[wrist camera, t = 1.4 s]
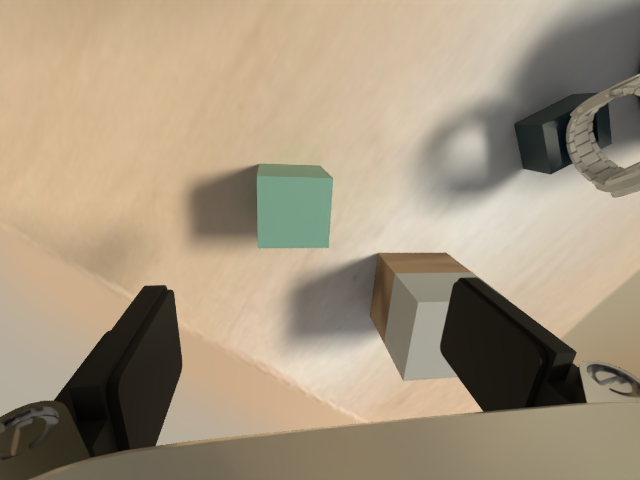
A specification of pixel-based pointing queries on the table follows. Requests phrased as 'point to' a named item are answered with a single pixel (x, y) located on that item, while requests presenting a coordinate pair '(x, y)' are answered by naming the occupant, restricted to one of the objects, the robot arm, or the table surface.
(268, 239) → the stack block
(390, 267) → the base block
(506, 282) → the table surface
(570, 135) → the watch
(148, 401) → the robot arm
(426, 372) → the top block
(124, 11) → the table surface
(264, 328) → the table surface
